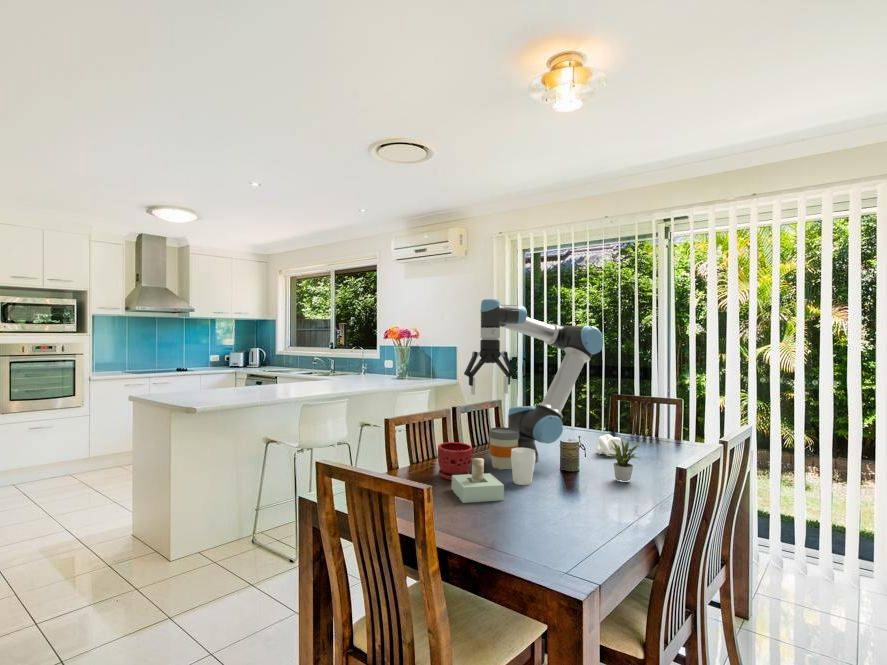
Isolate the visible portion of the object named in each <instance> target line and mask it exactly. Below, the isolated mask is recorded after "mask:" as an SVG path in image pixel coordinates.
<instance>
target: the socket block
mask: <svg viewBox="0 0 887 665" xmlns="http://www.w3.org/2000/svg"><path fill="white" fill-rule="evenodd" d="M452 490H453V491H452ZM451 491H452V492H453V493H454V494H455V495H456V496H457V498H458V497H459V498H458V499H459V500H460V501H461V502H462V504H465V503H466V504H467V503H483V502H496V501H497V502H499V501H504V500H505V484H503V483H502V482H501V481H500V480H499V479H497V477H495V476H494V475H493V474H492V473H491V472H489V473H484V477H483V482H482V483H472V473H471V474H470V473H469V474H464V475H452V480H451Z"/></svg>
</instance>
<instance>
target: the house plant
mask: <svg viewBox="0 0 887 665" xmlns="http://www.w3.org/2000/svg"><path fill="white" fill-rule="evenodd" d="M620 439H621V442H622V443H621V444H622V450H620V447H619V446H617V445H616V444H615V443H614V441H612V440H611V441H612V442H613V444H614V447H615V449H614V448H613V446H612V445H611V447H612V448H613V449H614V450H615V452H616V455H615V454H607V455H612V456H614V457H613V458H615V460H616V462H614V463H613V471H614V478H616V479H617V480H622V481H628V480H630V479H631V478H632V474H633V470H634V465H633V464H632V463H630V460H631V459H633V460H632V461H634V459H638V460H640V458H642V457H640V456H639V457H638V456H636V455H637V454H638V452H634V451H635V450H638V448H639V447H641V446H642V443H639V444H636V445H634V446H633V447H632V448H630V449H629V447H630V440H629V439H627V440H626V442H625V444H624V442H623V439H622V438H620ZM608 444H609V443H608ZM609 445H610V444H609ZM633 452H634V453H633ZM607 455H606V456H607ZM632 461H631V462H632ZM616 479H615V480H616ZM631 480H632V479H631ZM631 480H630V481H631Z"/></svg>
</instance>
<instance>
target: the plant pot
mask: <svg viewBox="0 0 887 665" xmlns="http://www.w3.org/2000/svg"><path fill="white" fill-rule="evenodd" d="M472 459H473V447H472V446H471V445H470V444H468V443H465V442H464V443H463V442H459V441H458V442H455V441H448V442H442V443H439V444H438V446H437V462H438V465H439V468H440V469H439V470H438V475H439V476H440V477H441V478H443V479H446V480H449V481H452V475H464V474H470V472H469V469H470V467H471V465H472Z"/></svg>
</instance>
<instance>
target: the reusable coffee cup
mask: <svg viewBox="0 0 887 665" xmlns="http://www.w3.org/2000/svg"><path fill="white" fill-rule="evenodd" d="M488 438H489V444H488V447H489V454H490V455H491V466H492V467H493V468H494V469H496V468H498V469H497V470H502V469H509V470H512V465H511V450H512V449H513V448H518V446H519V445H518V439H519V430H517V429H513V428H508V427H502V426H501V427H491V428H489V431H488Z"/></svg>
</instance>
